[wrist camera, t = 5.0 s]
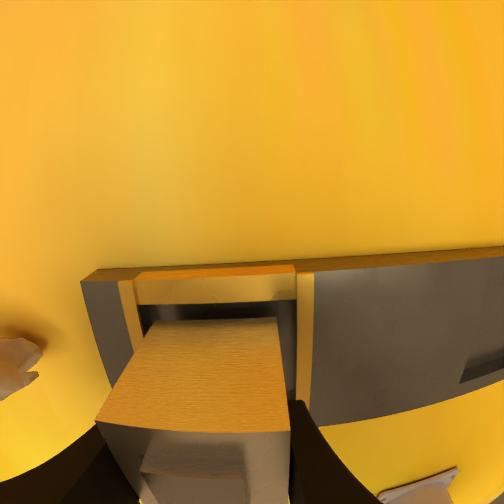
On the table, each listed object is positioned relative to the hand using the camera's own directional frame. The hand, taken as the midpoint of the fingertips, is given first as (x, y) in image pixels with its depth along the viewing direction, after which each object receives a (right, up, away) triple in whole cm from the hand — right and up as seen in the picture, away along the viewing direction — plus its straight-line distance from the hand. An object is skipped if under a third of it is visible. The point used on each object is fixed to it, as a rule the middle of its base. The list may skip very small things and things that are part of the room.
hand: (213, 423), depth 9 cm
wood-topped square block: (0, +1, +3) cm, 3 cm away
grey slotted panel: (+8, +2, +4) cm, 9 cm away
